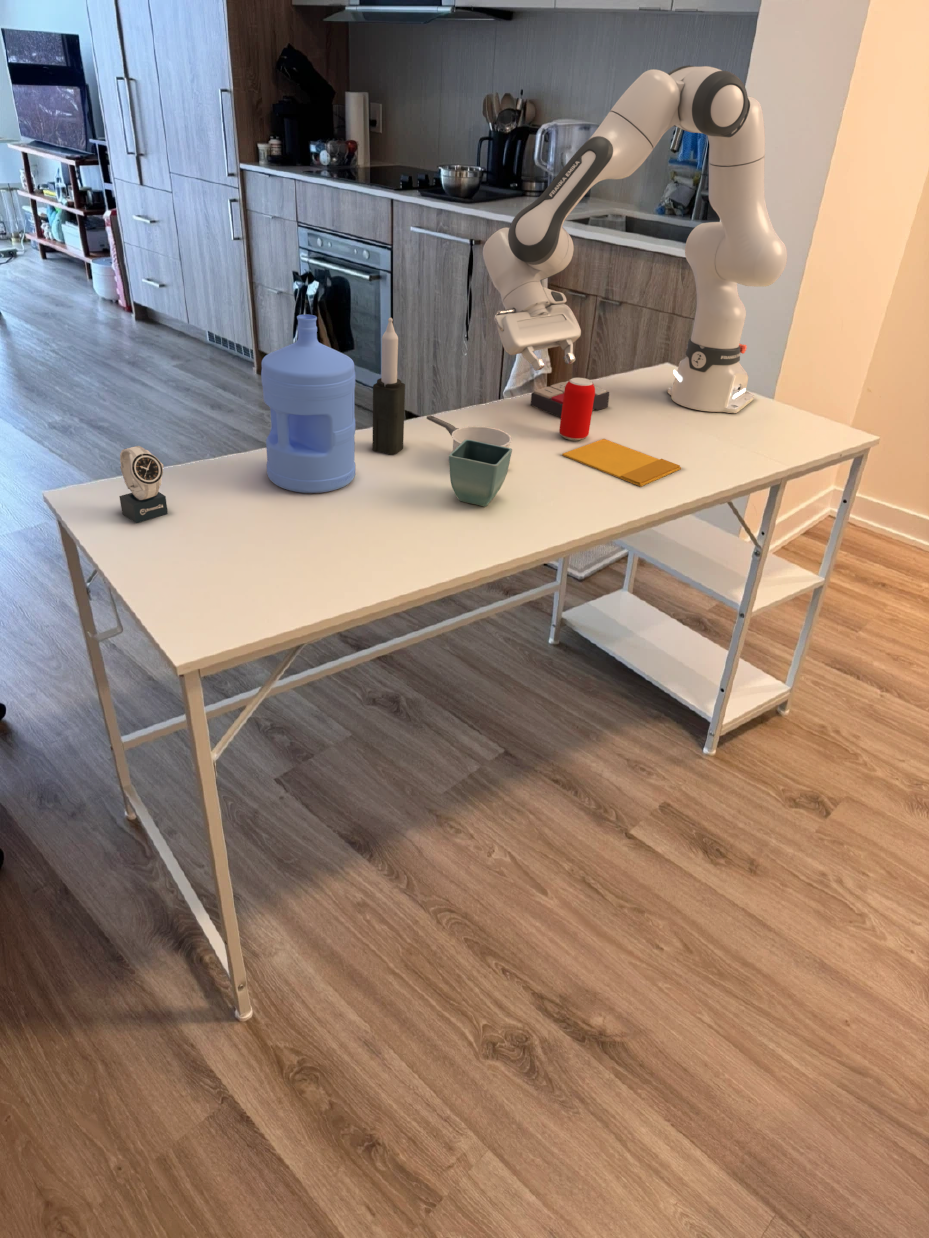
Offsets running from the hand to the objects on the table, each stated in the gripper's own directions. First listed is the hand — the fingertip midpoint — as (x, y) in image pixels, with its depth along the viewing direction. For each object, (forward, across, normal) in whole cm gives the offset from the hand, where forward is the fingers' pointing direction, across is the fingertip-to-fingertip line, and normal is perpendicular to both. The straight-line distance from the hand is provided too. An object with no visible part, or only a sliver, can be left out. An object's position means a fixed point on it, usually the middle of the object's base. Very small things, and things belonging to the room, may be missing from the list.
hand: (555, 365), depth 178 cm
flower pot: (+23, -38, -4) cm, 45 cm away
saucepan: (+12, -27, +7) cm, 31 cm away
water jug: (+6, -57, +13) cm, 59 cm away
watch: (+5, -87, +14) cm, 88 cm away
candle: (+4, -37, +15) cm, 40 cm away
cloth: (+25, -2, -6) cm, 26 cm away
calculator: (+5, +14, +14) cm, 20 cm away
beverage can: (+15, 0, +4) cm, 15 cm away
